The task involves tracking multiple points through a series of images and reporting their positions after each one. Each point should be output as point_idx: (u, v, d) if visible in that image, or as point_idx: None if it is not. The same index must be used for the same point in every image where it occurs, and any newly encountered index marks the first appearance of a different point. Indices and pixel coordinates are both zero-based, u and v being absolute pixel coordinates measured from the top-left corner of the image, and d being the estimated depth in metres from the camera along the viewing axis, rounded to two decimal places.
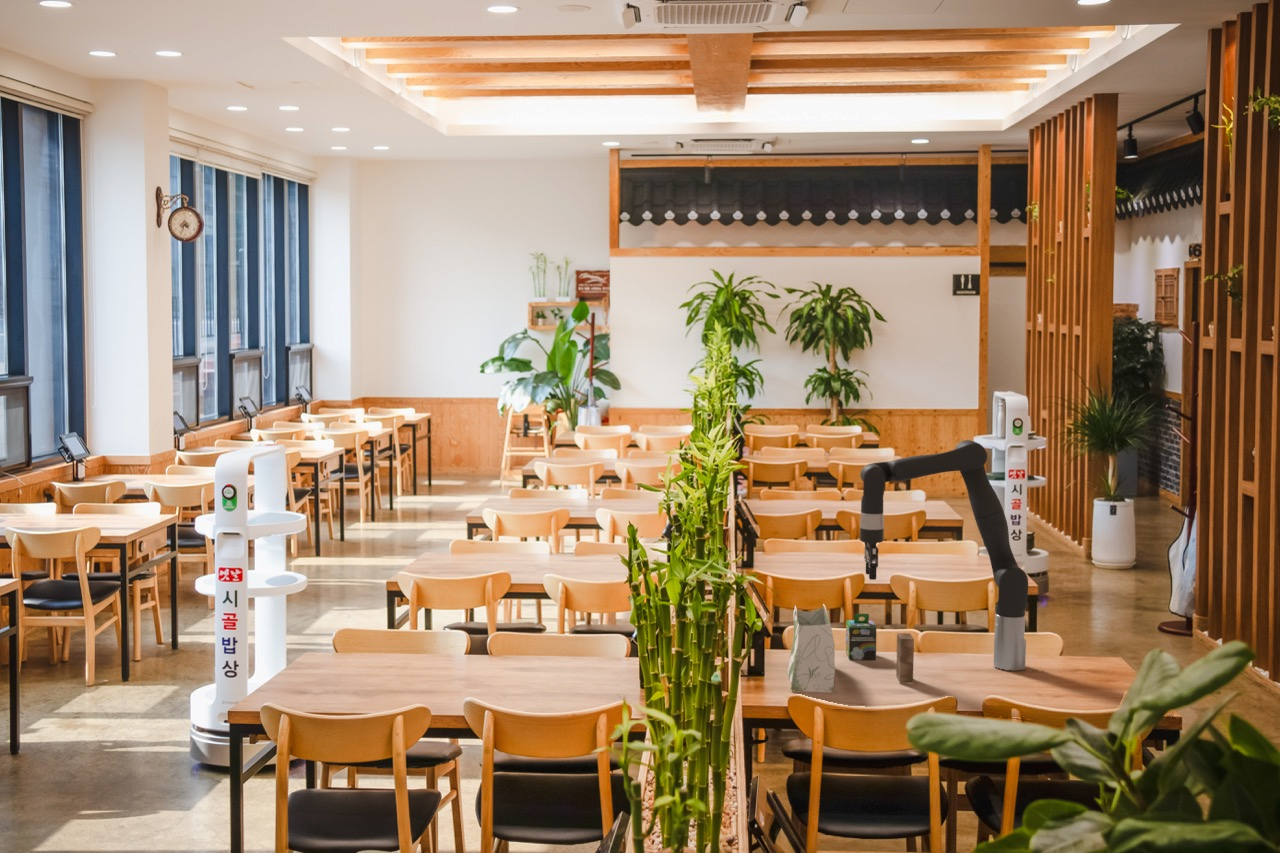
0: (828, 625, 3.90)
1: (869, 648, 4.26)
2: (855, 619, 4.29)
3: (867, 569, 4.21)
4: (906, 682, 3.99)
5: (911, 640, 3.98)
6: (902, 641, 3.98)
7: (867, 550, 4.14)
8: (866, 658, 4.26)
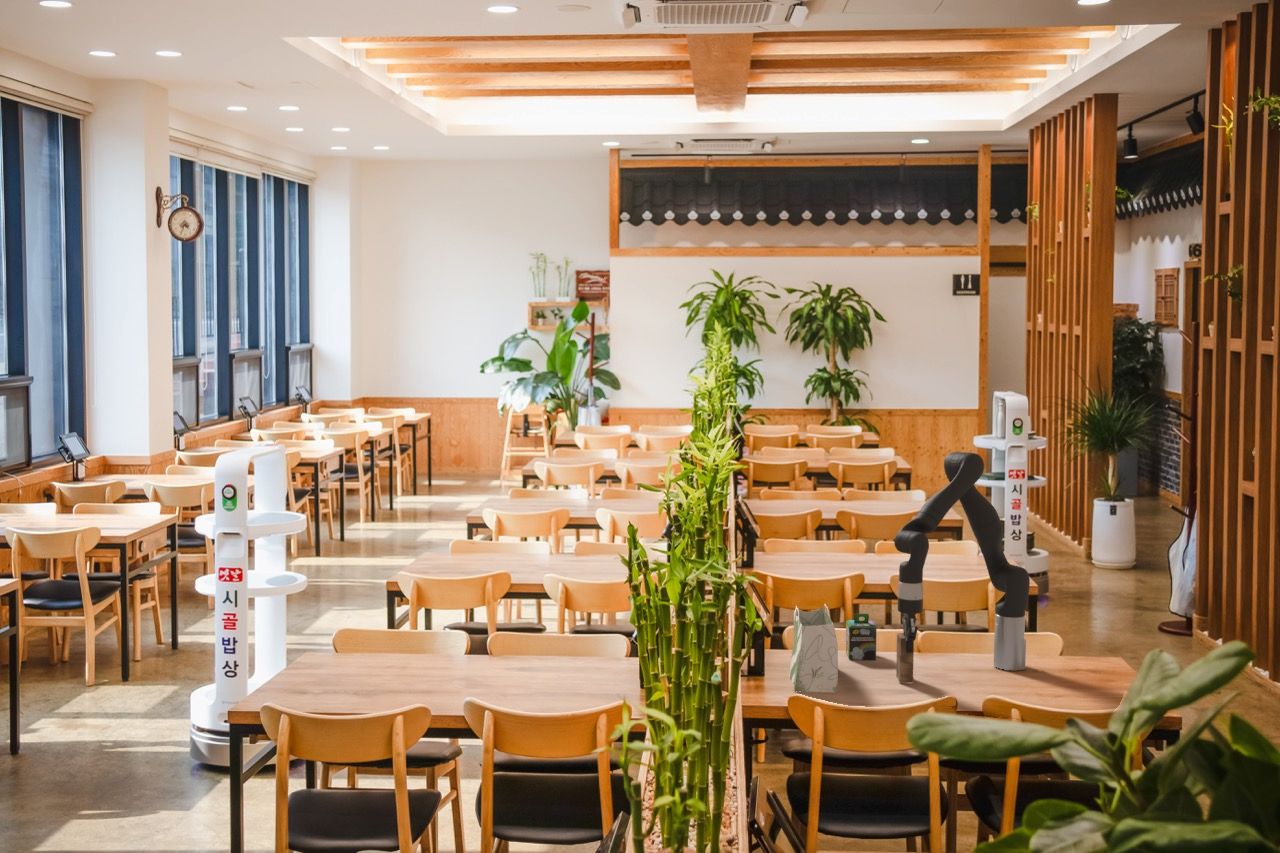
0: (831, 625, 3.90)
1: (869, 648, 4.26)
2: (855, 619, 4.29)
3: None
4: (906, 682, 3.99)
5: None
6: (902, 641, 3.98)
7: (905, 623, 3.93)
8: (866, 658, 4.26)
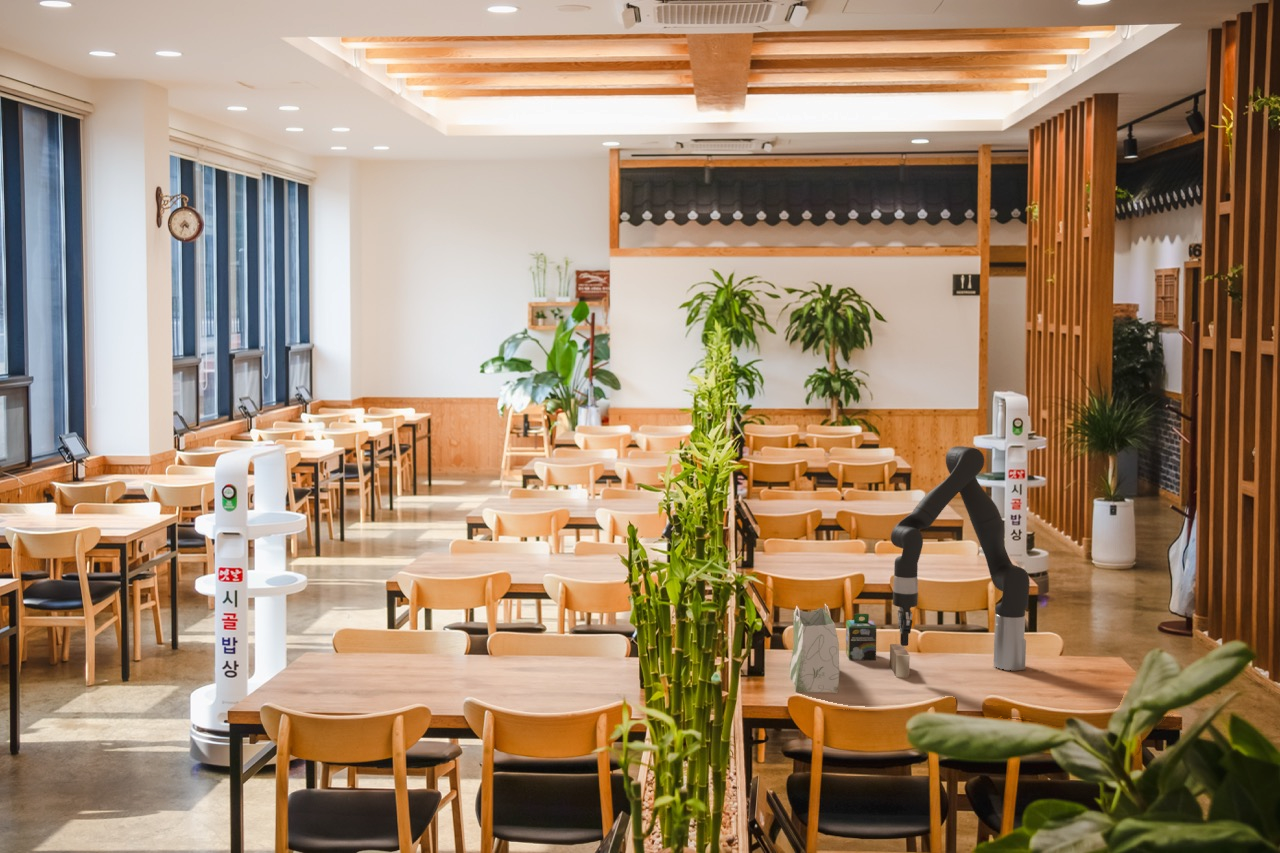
0: (832, 625, 3.90)
1: (869, 648, 4.26)
2: (855, 619, 4.29)
3: None
4: (903, 655, 4.06)
5: (900, 644, 4.19)
6: (892, 644, 4.19)
7: (900, 616, 4.02)
8: (866, 658, 4.26)
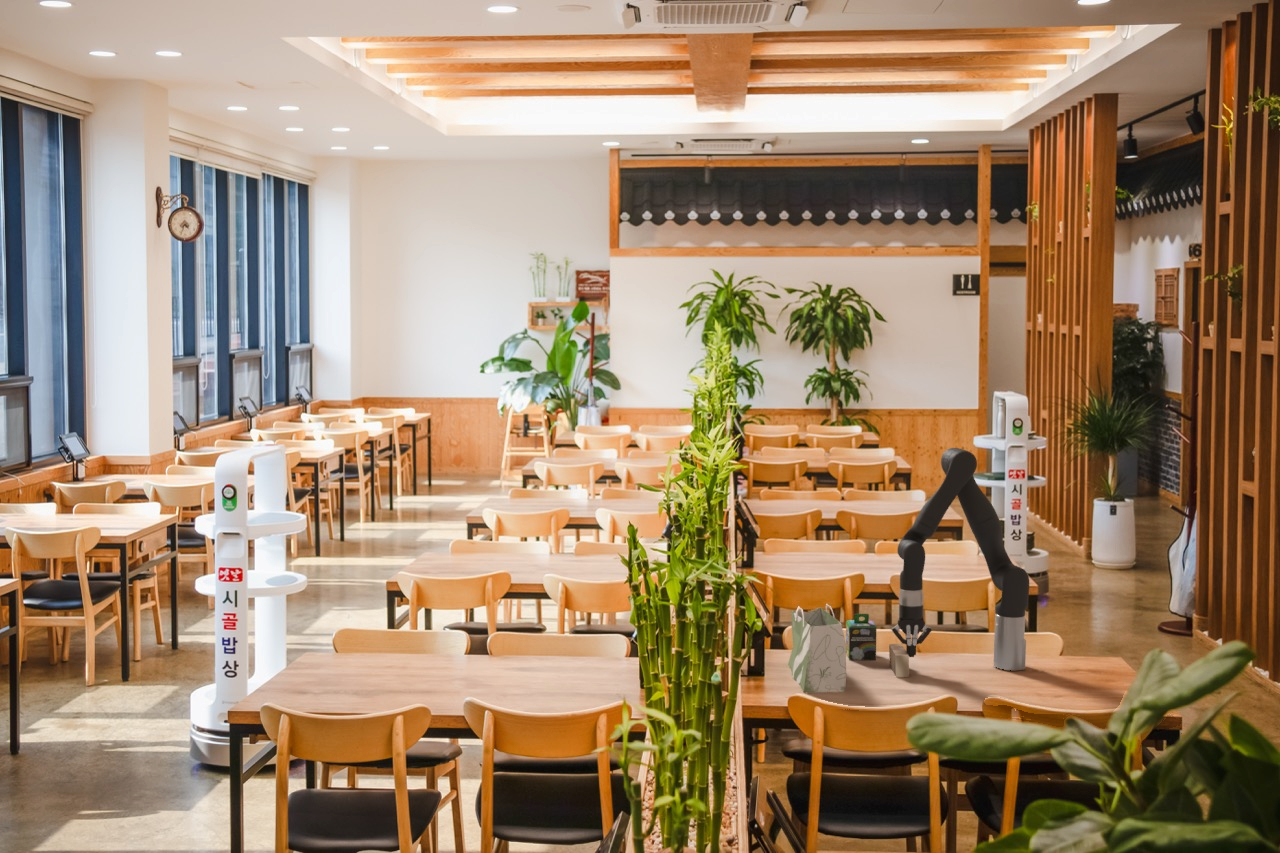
0: (839, 625, 3.91)
1: (869, 648, 4.26)
2: (855, 619, 4.29)
3: None
4: (902, 654, 4.06)
5: (899, 644, 4.19)
6: (891, 644, 4.19)
7: None
8: (866, 658, 4.26)
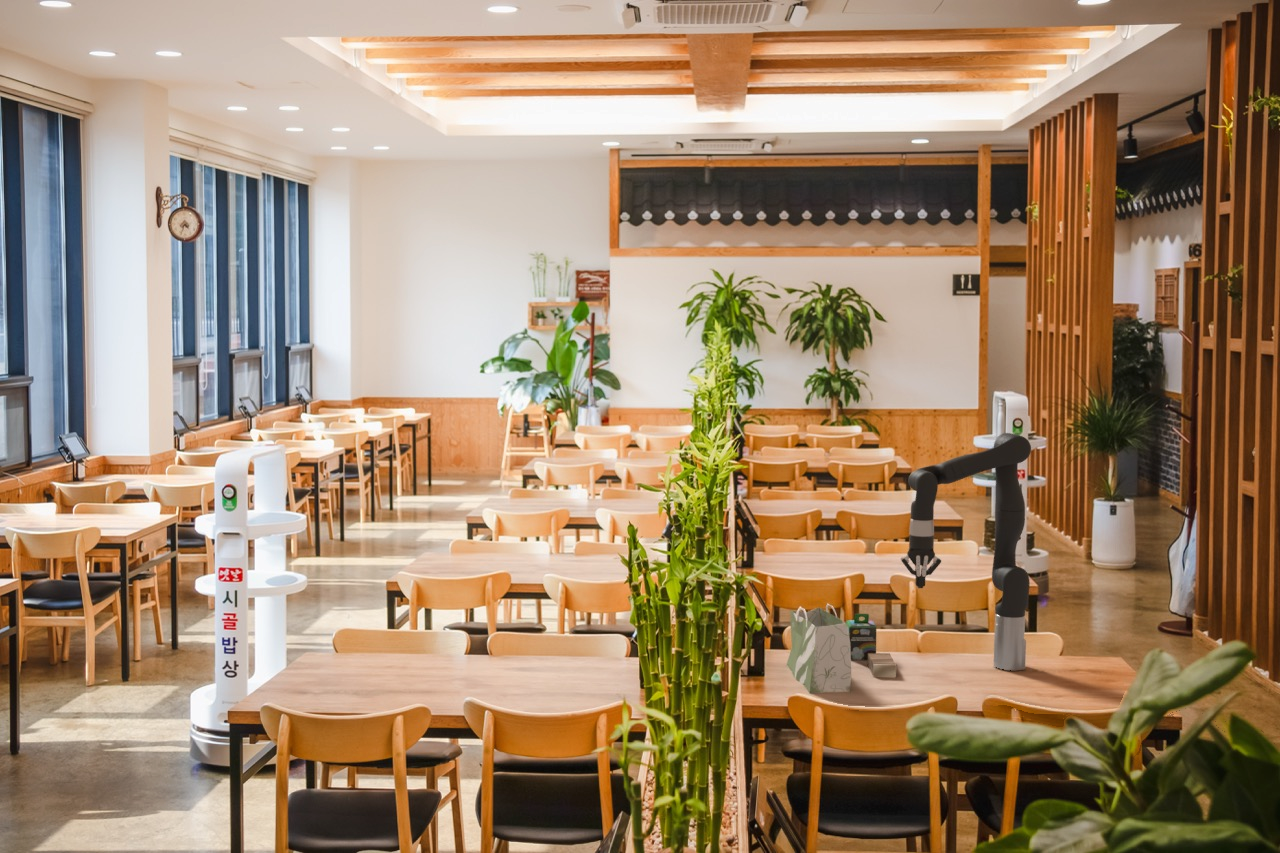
0: (844, 624, 3.91)
1: (869, 648, 4.26)
2: (855, 619, 4.29)
3: None
4: (873, 670, 4.07)
5: None
6: None
7: None
8: (866, 658, 4.26)
